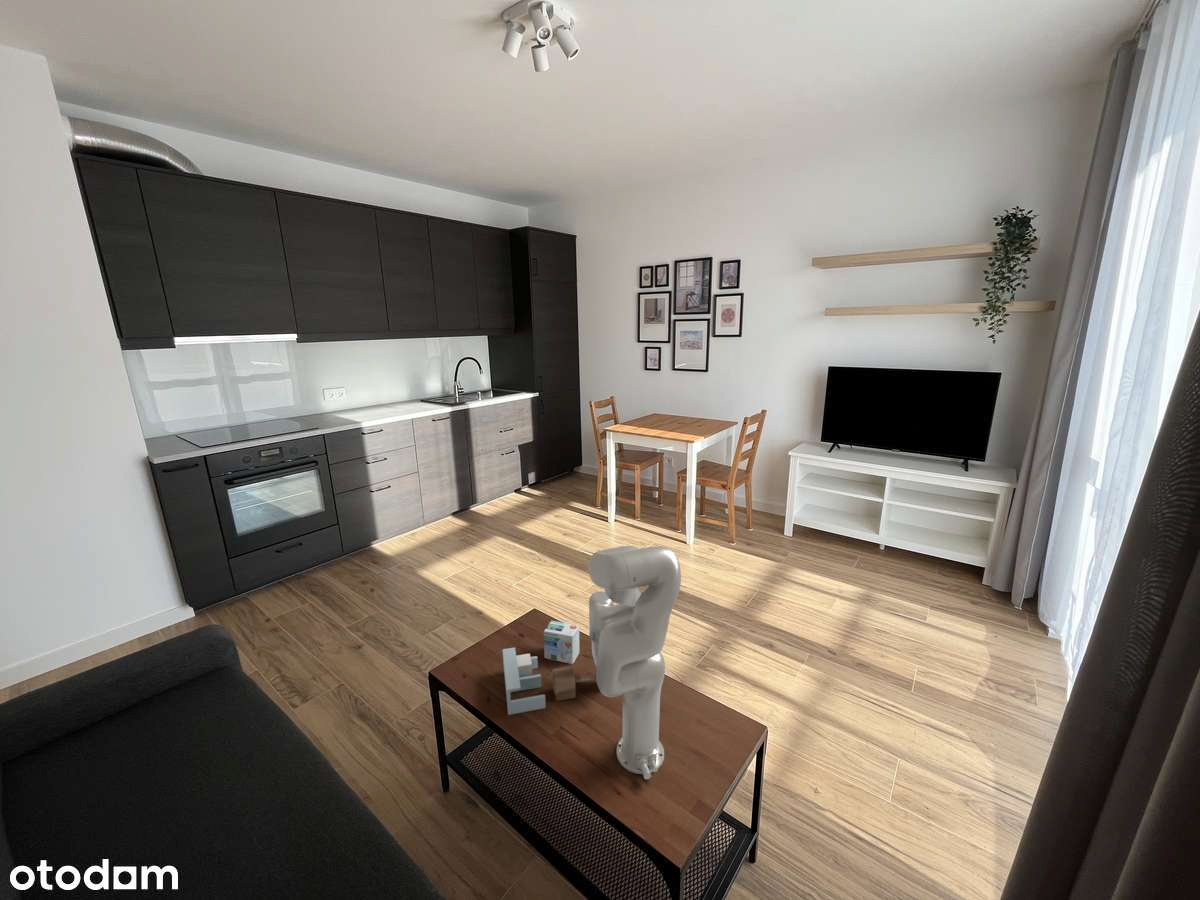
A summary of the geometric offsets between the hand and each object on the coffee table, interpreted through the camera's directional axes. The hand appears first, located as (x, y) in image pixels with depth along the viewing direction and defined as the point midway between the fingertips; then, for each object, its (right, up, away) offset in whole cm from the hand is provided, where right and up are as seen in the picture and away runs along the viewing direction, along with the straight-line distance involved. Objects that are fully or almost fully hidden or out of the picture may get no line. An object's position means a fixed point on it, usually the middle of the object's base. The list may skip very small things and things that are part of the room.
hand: (601, 682), depth 156 cm
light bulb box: (-14, +2, +15) cm, 20 cm away
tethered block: (-7, -2, -1) cm, 7 cm away
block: (-26, 0, +4) cm, 26 cm away
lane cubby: (-24, -2, -1) cm, 24 cm away
